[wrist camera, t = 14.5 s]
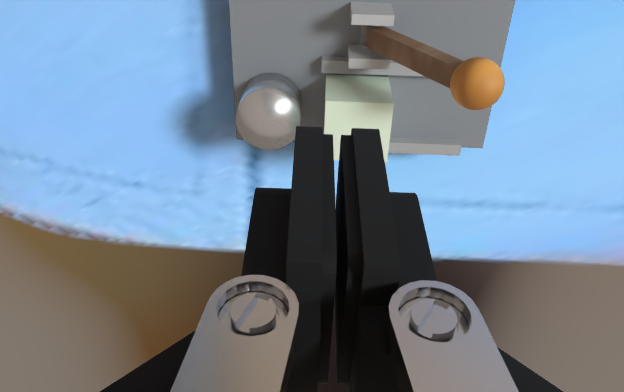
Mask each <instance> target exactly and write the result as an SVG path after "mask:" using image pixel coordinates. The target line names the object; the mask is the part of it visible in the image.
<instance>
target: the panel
mask: <svg viewBox="0 0 624 392" xmlns="http://www.w3.org/2000/svg"><path fill="white" fill-rule="evenodd" d="M514 4H515V0H229V11H230V29H231V46H232V64H233V81H234V99H235V117H236V113H237V109H238V106H239V103H240V100H241V97H242V93H243V90H244V88H245V86H246V84H247V83H248V82H249V81H250V80H251V79H252V78H254V77H255V76H257V75H259V74H263V73H278V74H282V75H284V76H286V77H288V78H289V79H291V80H292V81H293V82H294V83H295V84H296V85H297V87H298V88H299V90H300V93H301V96H302V110H301V120H300V126H307V127H323V134H324V112H325V87H326V74H329V75H358V76H387V77H389V82H390V87H391V92H392V96H393V101H394V108H393V116H392V125H391V134H390V142H389V151H388V153H403V154H431V155H460V150H461V147H468V148H483V143H484V139H485V134H486V130H487V125H488V121H489V116H490V112H491V107H492V106H490V107H488V108H486V109H482V110H469V109H466V108H464V107H462V106H461V105H459V104H458V103H457V102H456V101H455V99H454V98H453V96H452V93H451V90H450V88H448V87H446V86H444V85H442V84H440V83H437V82H435V81H433V80H431V79H429V78H427V77H425V76H423V75H421V74H419V73H417V72H415V71H413V70H411V69H409V68H407V67H405V66H403V65H401V64H398V63H396V62H394V61H392V60H390V59H388V58H386V57H384V56H382V55H380V54H378V53H376V52H374V51H372V50H370V49H368V47H365V46H363V45H361V42H362V29H363V25H373V26H384V27H387V28H389V29H391V30H394V31H396V32H398V33H400V34H403V35H405V36H407V37H410V38H412V39H414V40H417V41H419V42H421V43H424V44H426V45H428V46H431V47H433V48H435V49H438V50H440V51H442V52H444V53H447V54H449V55H451V56H454V57H456V58H458V59H461V60H463V61H465V60H467V59H470V58H474V57H483V58H487V59H490V60H492V61H493V62H495V63H496V64H497V65H498V66H499V67H501V62H502V58H503V53H504V49H505V44H506V40H507V35H508V31H509V26H510V22H511V17H512V13H513V8H514ZM236 134H237V139H243V137H242V136H241V135H240V133H239V131H238V129H237V126H236ZM243 140H244V139H243ZM293 141H295V139H294V140H293Z"/></svg>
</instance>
